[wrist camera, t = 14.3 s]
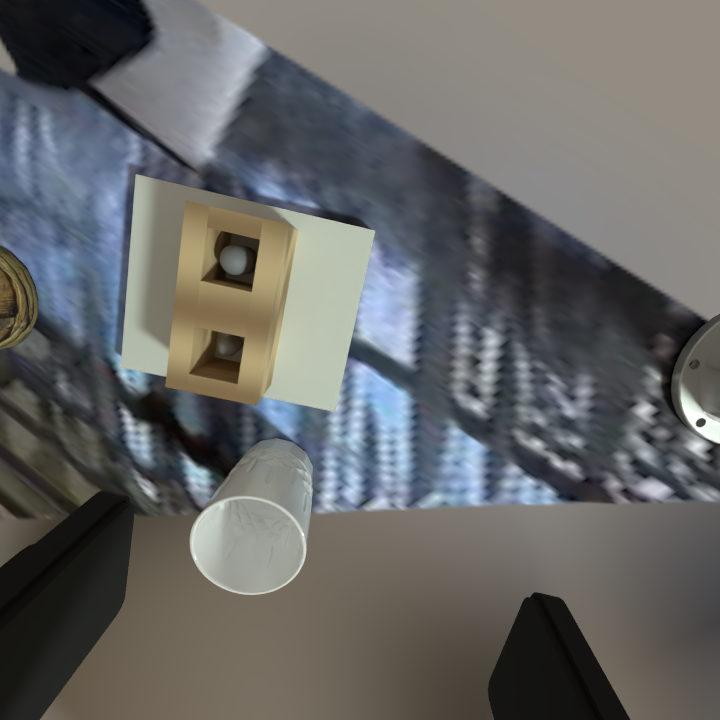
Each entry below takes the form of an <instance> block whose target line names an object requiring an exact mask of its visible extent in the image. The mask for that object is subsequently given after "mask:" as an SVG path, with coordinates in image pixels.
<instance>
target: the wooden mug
mask: <svg viewBox="0 0 720 720" xmlns="http://www.w3.org/2000/svg"><path fill="white" fill-rule="evenodd" d="M37 315H38V297H37V292H36V287H35V284H34V282H33V280H32V278H31V276H30V273H29V271H28V270H27V269H26V268H25V267H24V266H23V265H22V264H21V263H20V262H19V261H18V260H17V259H16V258H15V257H14V256H13V255H12V254H11V253H9V252H7V251H5V250H3V249H1V248H0V349H5V348H9V347H13V346H17V345H18V344H19V343H20V342H22V341H23V340H24V339H26V338H27V337H28V335H29V333H30V331H31V330H32V328H33V326H34V324H35V322H36V319H37Z"/></svg>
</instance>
